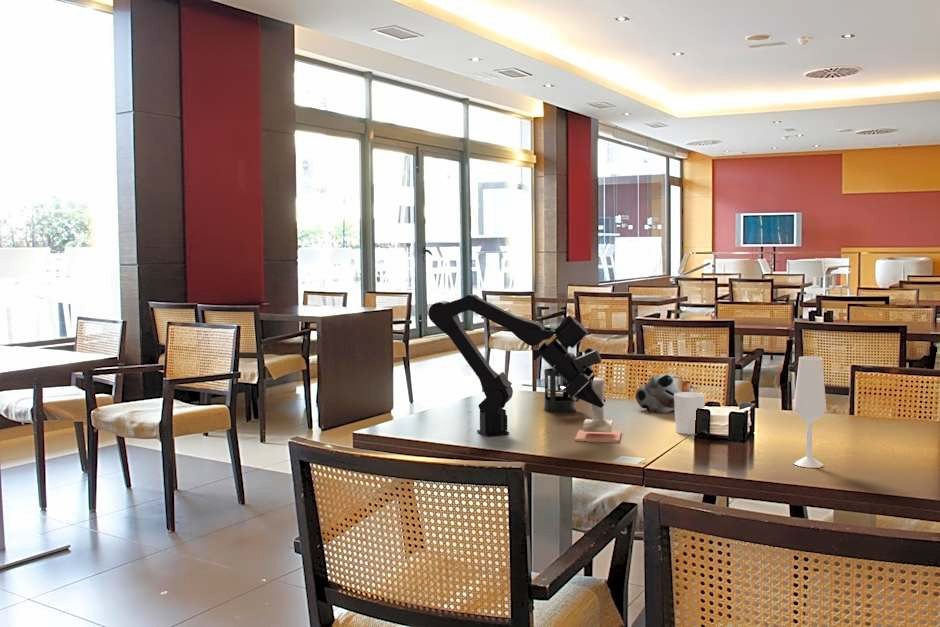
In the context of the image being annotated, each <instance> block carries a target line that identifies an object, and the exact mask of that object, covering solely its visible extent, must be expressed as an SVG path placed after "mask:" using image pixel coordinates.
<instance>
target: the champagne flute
mask: <svg viewBox="0 0 940 627" xmlns="http://www.w3.org/2000/svg"><path fill="white" fill-rule="evenodd" d="M796 374H797V375H796V382H795V383H796V384H795V390H794V391H795V392H794V398H793V399H794V400H793V409H794V411H795V412H796V414H797V415H798V416H799V417H800V418H801V419H802V420H804V422H806V435H805V437H806V439H805V440H806V441H805V445H806V446H805V447H806V448H805V456H804V457H802V458H800V459H798V460H797V461H795V463H794V462H793V463H794V464H795V465H798V466H802V467H803V466H804V467H820V466H822V465H824V464H823V463H822V462H820V461H818V460H817V459H816V458H814V456H813V422H815V421H817V420H818V419H819V418H821V417H822V416H823V414H824V413H825V411H826V410H827V401H826V390H825V378H824V376H825V375H824V366H823V357H820V356H805V355H804V356H799V357H798V366H797V372H796Z"/></svg>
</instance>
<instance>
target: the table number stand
mask: <svg viewBox="0 0 940 627" xmlns="http://www.w3.org/2000/svg"><path fill="white" fill-rule="evenodd" d="M592 388H593V390H594V391H595V392H596V394H597V395H598V397H599V398H600V400H601V401H602V402H603V404H604V406H603V407H602V408H600V407H598V406H595V405H593V404H591V405H592V408H591V409H592V410H591V411H592V412H591V413H592V415H591V416H592V417H591V418H592V419H587V418H585V420H584V421H583V426H582V427H583V428H582V430H583V432H608V433H611V431H613V426H614V425H613V420H612V419H605V402H604V398H605V377H595V378H594V379H593V381H592Z"/></svg>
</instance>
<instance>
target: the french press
mask: <svg viewBox="0 0 940 627" xmlns="http://www.w3.org/2000/svg"><path fill="white" fill-rule="evenodd" d="M553 337H557V336H556V335H554V336H553ZM558 343H559V344H560V345H561V343H560V342H559V341H558ZM568 353H569V354H570V355H575V353H573V352H568ZM568 353H567V354H568ZM567 354H566V355H567ZM566 355H565V356H566ZM543 371H544V372H543V374H544V407H543V410H544V411H546V412H548V413H549V412H550V413H569V412H570V411H571V412H573V411H575V410H576V407H575V403H577V402H580V400H581V399H578V398H576V399H575V397H574V396H573V397H570V396H569V395H568V394H567V393H566V386H567V385H566V383H567V382H566V381H565V380H564V379H563V378H562V384H561V380H560V379H561V376H560V375H559V374H558V375H557V374H556V373H555V370H554V369H553V368H552V367H551V368H545V369H544V370H543ZM556 377H558V384H557V382H556V379H557V378H556ZM556 384H557V385H556ZM556 393H557V394H559V393H561V394H562V395H557V394H556ZM549 394H550V396H549Z"/></svg>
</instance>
